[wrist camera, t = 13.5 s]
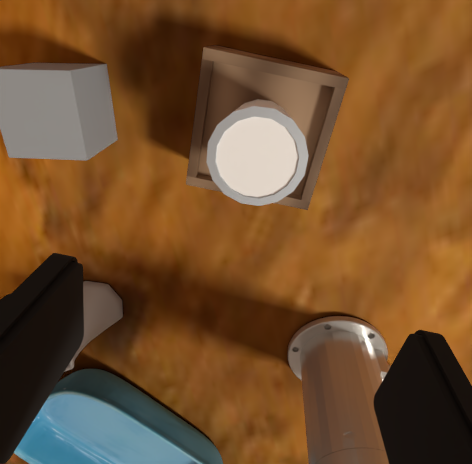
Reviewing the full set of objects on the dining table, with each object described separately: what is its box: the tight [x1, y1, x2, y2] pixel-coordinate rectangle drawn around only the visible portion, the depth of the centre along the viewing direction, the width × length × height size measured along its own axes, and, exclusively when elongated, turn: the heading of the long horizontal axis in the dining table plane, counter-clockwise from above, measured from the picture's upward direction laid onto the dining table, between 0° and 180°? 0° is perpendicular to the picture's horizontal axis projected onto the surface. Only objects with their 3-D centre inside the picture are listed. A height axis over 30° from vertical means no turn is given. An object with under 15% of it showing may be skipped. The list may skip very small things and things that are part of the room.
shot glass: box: [207, 99, 309, 206], centre depth 27 cm, size 7×7×7 cm
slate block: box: [0, 63, 118, 160], centre depth 33 cm, size 7×7×7 cm
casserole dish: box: [14, 369, 223, 464], centre depth 57 cm, size 37×22×7 cm, turn 43°
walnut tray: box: [186, 45, 349, 210], centre depth 32 cm, size 11×11×6 cm
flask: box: [64, 281, 123, 372], centre depth 43 cm, size 7×7×10 cm
